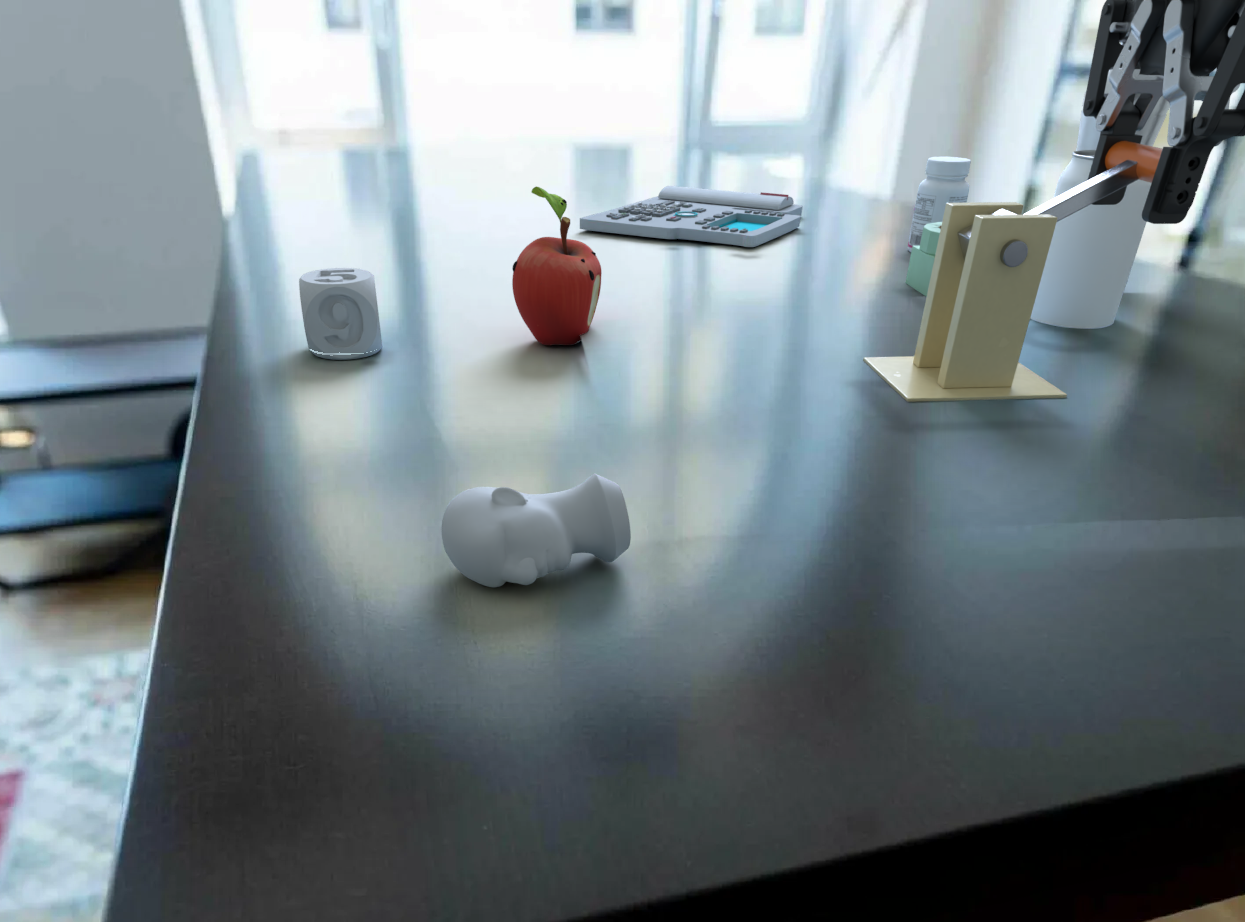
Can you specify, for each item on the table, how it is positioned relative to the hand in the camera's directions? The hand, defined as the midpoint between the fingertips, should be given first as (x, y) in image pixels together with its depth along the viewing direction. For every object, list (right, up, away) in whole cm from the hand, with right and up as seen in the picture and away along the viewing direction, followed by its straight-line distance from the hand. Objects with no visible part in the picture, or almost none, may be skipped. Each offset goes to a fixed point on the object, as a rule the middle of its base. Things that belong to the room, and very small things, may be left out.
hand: (1129, 211), depth 54 cm
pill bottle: (+3, +15, +40) cm, 43 cm away
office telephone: (-18, +23, +52) cm, 59 cm away
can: (+5, -1, +18) cm, 18 cm away
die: (-49, -4, +12) cm, 51 cm away
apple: (-34, -3, +14) cm, 37 cm away
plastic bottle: (+12, +7, +28) cm, 31 cm away
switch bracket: (-8, -9, +5) cm, 13 cm away
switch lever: (-4, -1, 0) cm, 4 cm away
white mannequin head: (-34, -23, -14) cm, 43 cm away
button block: (+2, +6, +27) cm, 27 cm away
